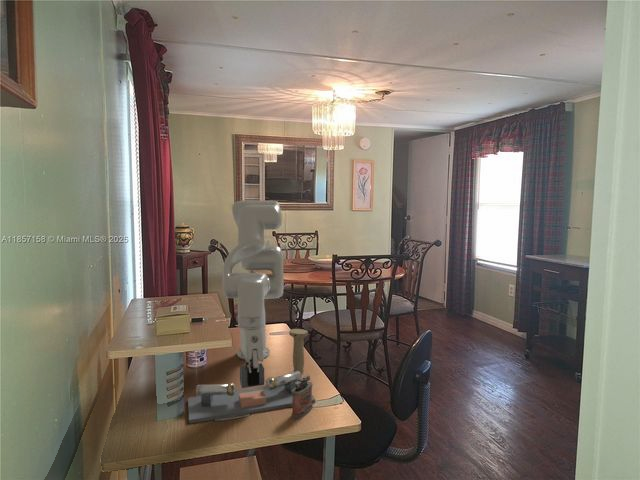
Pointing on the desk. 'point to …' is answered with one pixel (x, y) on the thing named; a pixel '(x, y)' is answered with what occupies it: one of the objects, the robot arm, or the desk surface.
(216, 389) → the shaft
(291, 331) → the handle
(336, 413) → the desk surface
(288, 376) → the shaft
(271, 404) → the base plate
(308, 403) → the lighter
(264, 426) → the desk surface
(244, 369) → the block
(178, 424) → the desk surface
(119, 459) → the desk surface
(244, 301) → the robot arm
